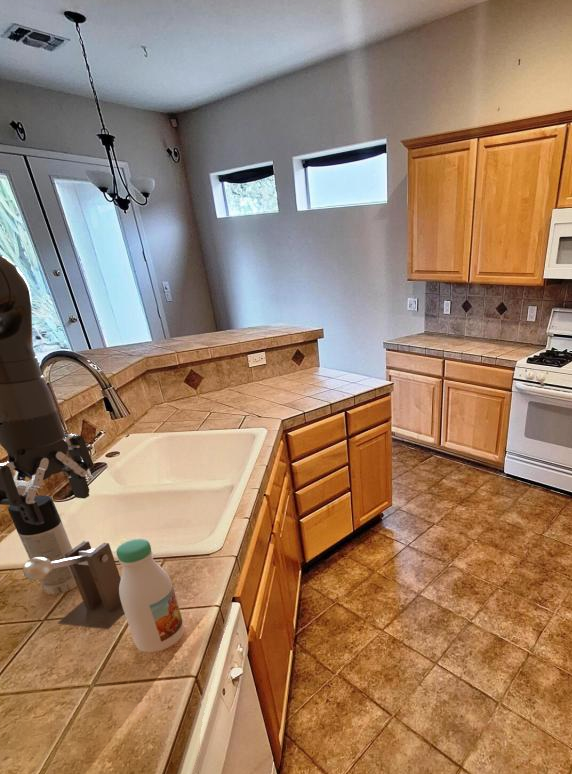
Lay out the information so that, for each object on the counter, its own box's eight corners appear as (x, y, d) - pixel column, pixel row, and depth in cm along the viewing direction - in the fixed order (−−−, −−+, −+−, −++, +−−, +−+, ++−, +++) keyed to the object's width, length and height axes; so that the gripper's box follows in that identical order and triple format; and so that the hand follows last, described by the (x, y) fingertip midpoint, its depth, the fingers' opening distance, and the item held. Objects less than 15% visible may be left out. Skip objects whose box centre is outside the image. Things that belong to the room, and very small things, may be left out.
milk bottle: (146, 664, 71) (113, 566, 62) (130, 640, 76) (96, 546, 67) (193, 639, 76) (168, 545, 67) (175, 617, 81) (149, 527, 72)
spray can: (93, 579, 90) (61, 495, 82) (65, 600, 84) (28, 513, 76) (65, 575, 91) (31, 492, 82) (36, 596, 85) (-4, 509, 76)
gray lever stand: (110, 633, 77) (86, 571, 71) (59, 627, 78) (32, 566, 72) (152, 590, 88) (135, 533, 82) (107, 585, 89) (87, 528, 83)
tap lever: (36, 583, 66) (37, 560, 66) (15, 581, 66) (16, 558, 66) (104, 566, 79) (105, 546, 79) (87, 564, 79) (88, 545, 79)
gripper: (44, 396, 68) (76, 488, 75) (-54, 424, 55) (-4, 531, 62) (86, 399, 67) (115, 491, 74) (-4, 428, 54) (41, 536, 61)
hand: (60, 509), depth 68 cm, fingers open, 8 cm apart
